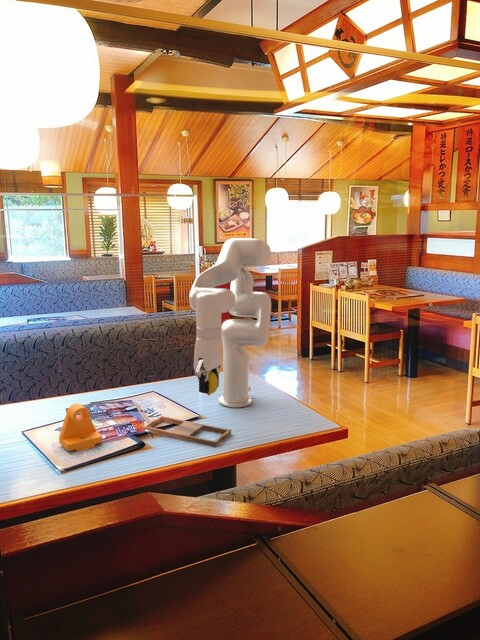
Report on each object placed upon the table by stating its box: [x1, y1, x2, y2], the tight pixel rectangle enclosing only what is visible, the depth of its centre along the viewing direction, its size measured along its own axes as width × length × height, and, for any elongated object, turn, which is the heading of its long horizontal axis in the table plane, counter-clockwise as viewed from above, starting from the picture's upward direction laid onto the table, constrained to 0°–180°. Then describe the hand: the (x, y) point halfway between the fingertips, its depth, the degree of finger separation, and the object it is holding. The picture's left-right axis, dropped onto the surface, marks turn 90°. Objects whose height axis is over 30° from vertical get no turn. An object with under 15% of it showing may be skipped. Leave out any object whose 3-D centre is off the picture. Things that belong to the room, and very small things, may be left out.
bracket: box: [58, 403, 103, 452], centre depth 153 cm, size 11×7×12 cm, turn 129°
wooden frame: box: [141, 415, 232, 448], centre depth 163 cm, size 11×27×2 cm, turn 65°
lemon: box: [203, 371, 219, 396], centre depth 157 cm, size 6×6×8 cm
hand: (209, 389), depth 158 cm, fingers closed on lemon, 5 cm apart
